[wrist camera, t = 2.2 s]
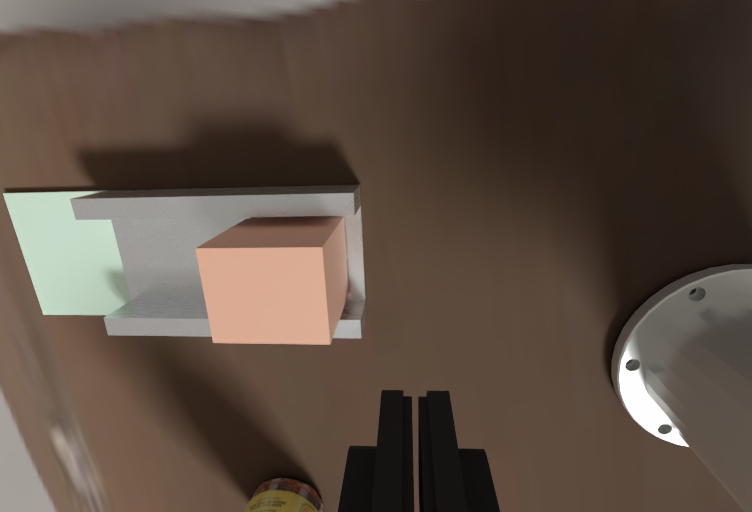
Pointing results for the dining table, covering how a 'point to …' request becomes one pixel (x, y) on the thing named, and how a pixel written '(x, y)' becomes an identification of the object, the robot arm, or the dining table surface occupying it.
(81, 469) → the dining table surface
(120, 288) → the pad
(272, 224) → the block
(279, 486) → the sauce bottle
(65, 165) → the dining table surface
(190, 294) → the chute
